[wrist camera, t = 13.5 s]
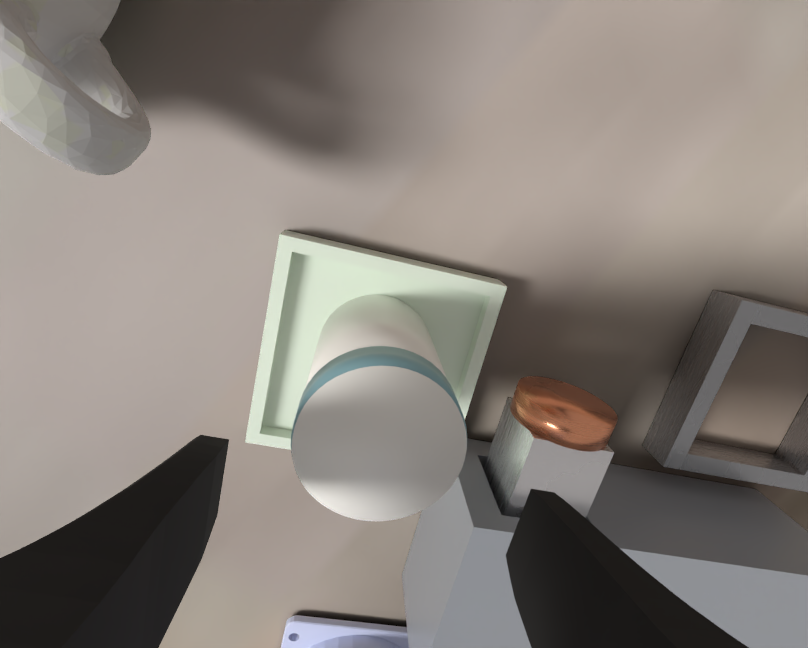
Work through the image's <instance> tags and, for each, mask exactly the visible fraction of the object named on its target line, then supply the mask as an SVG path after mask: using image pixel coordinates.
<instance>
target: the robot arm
mask: <svg viewBox="0 0 808 648" xmlns="http://www.w3.org/2000/svg"><path fill="white" fill-rule="evenodd" d="M228 442H229V440H228V439H222V438H216V437H210V436H204V435H200V436H198V437H196V438H195V439H193V440H192V441H191V442H189V443H188V444H187V445H185V446H184V447H183V448H182V449H180V450H179V451H178V452H176V453H175V454H174V455H172V456H171V457H170V458H168V459H167V460H165V461H164V462H163V463H161V464H160V465H159V466H157V467H156V468H155V469H153V470H152V471H150V472H149V473H147V474H146V475H144V476H143V477H142V478H140V479H139V480H137V481H136V482H134V483H133V484H132V485H130V486H129V487H127V488H126V489H124V490H123V491H121V492H120V493H118V494H116V495H115V496H113V497H112V498H110V499H108V500H107V501H105V502H104V503H102V504H100V505H99V506H97V507H96V508H94V509H92V510H91V511H89V512H88V513H86V514H84V515H83V516H81V517H79V518H78V519H76V520H74V521H72V522H71V523H69V524H67V525H65V526H64V527H62V528H60V529H58V530H56V531H54V532H52V533H51V534H49V535H47V536H45V537H43V538H41V539H39V540H37V541H35V542H33V543H31V544H29V545H27V546H25V547H23V548H21V549H19V550H17V551H15V552H13V553H11V554H8V555H6V556H4V557H2V558H0V648H158V647H159V645H160V643H161V641H162V639H163V637H164V635H165V633H166V631H167V629H168V627H169V625H170V623H171V621H172V619H173V617H174V615H175V613H176V611H177V609H178V607H179V604H180V602H181V600H182V598H183V596H184V594H185V592H186V590H187V588H188V586H189V584H190V582H191V580H192V578H193V576H194V574H195V572H196V569H197V567H198V565H199V563H200V561H201V559H202V556H203V553H204V551H205V548H206V545H207V542H208V540H209V537H210V534H211V531H212V528H213V526H214V523H215V520H216V517H217V513H218V506H219V500H220V494H221V487H222V481H223V474H224V468H225V462H226V455H227V449H228ZM506 560H507V565H508V570H509V575H510V580H511V585H512V589H513V593H514V598H515V601H516V604H517V607H518V610H519V613H520V616H521V619H522V622H523V625H524V628H525V631H526V634H527V637H528V639H529V642H530V645H531V648H749V647H747V646H746V645H744V644H743V643H741V642H740V641H738V640H737V639H735V638H734V637H732V636H731V635H729V634H728V633H727V632H725V631H724V630H722V629H721V628H720V627H718V626H717V625H715V624H714V623H713V622H711V621H710V620H709V619H707V618H706V617H704V616H703V615H702V614H700V613H699V612H697V611H696V610H695V609H693V608H692V607H691V606H689V605H688V604H687V603H685V602H684V601H683V600H681V599H680V598H679V597H678V596H676V595H675V594H674V593H673V592H671V591H670V590H669V589H668V588H666V587H665V586H664V585H663V584H661V583H660V582H659V581H658V580H656V579H655V578H654V577H653V576H652V575H650V574H649V573H648V572H647V571H645V570H644V569H643V568H642V567H641V566H640V565H638V564H637V563H636V562H635V561H634V560H632V559H631V558H630V557H629V556H628V555H627V554H626V553H624V552H623V551H622V550H621V549H620V548H619V547H618V546H616V545H615V544H614V543H613V542H612V541H611V540H610V539H608V538H607V537H606V536H605V535H604V534H603V533H602V532H601V531H599V530H598V529H597V528H596V527H595V526H594V525H593V524H592V523H590V522H589V521H588V520H587V519H586V518H585V517H584V516H582V515H581V514H580V513H579V512H578V511H577V510H576V509H574V508H573V507H572V506H571V505H570V504H568V503H567V502H566V501H565V500H564V499H562V498H561V497H560V496H558V495H557V494H556V493H554V492H549V491H543V490H536V489H531V490H530V493H529V495H528V498H527V500H526V503H525V506H524V508H523V511H522V514H521V516H520V519H519V521H518V524H517V527H516V529H515V532H514V534H513V537H512V540H511V542H510V545H509V548H508V550H507V553H506ZM294 633H296V634H294ZM281 648H409V644H408V633H407V627H402V626H392V625H383V624H374V623H365V622H356V621H346V620H337V619H328V618H319V617H309V616H300V615H295V616H292V617H290V618H289V619H288V620H287V622H286V626H285V631H284V635H283V639H282V644H281Z"/></svg>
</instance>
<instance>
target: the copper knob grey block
mask: <svg viewBox="0 0 808 648" xmlns="http://www.w3.org/2000/svg"><path fill="white" fill-rule="evenodd" d="M617 420H618V418H617V415H616V413H615V412H614V410H613V409H612V408H611V407H610V406H609V405H608V404H606V403H605V402H604V401H602V400H601V399H599V398H598V397H596V396H594V395H592V394H591V393H589V392H587V391H585V390H583V389H580V388H578V387H576V386H573V385H571V384H568V383H565V382H562V381H558V380H555V379H551V378H546V377H538V376H528V377H523V378H521V379H520V380H519V382H518V385H517V387H516V390H515V393H514V396H513V398H512V397H508V398H507V401H506V404H505V406H504V409H503V412H502V415H501V418H500V421H499V424H498V427H497V430H496V433H495V435H494V438H493V441H492V444H491V447H490V450H489V453H488V456H487V459H486V462H485V464H484V467H483V470H484V473H485V475H486V478H487V480H488V483H489V485H490V488H491V490H492V493H493V495H494V498H495V500H496V503H497V505H498V508H499V510H500V513H501V515H504V516H511V517H518V518H520V516H521V514H522V511H523V508H524V506H525V503H526V500H527V498H528V495H529V493H530V490H531V489H536V490H543V491H549V492H554V493H556V494H557V495H558V496H560V497H561V498H562V499H564V500H565V501H566V502H567V503H568V504H570V505H571V506H572V507H573V508H574V509H576V510H577V511H578V512H579V513H580V514H581V515H582V516H584V517H585V518H586V516H587V514H588V512H589V509H590V507H591V505H592V503H593V500H594V498H595V496H596V493H597V491H598V489H599V486H600V484H601V482H602V480H603V477H604V475H605V473H606V470H607V468H608V466H609V464H610V461H611V459H612V457H613V454H614V452H613V450H612V449H611V448H610V447H609V446H608V445H607V444H608V441H609V439H610V437H611V434H612V432H613V430H614V427H615V425H616V423H617Z"/></svg>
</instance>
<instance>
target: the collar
mask: <svg viewBox="0 0 808 648" xmlns="http://www.w3.org/2000/svg"><path fill="white" fill-rule="evenodd" d="M750 324H754V325H758V326H762V327H767V328H771V329H775V330H779V331H783V332H788V333H792V334H796V335H800V336H804V337H808V313H805V312H801V311H797V310H793V309H789V308H785V307H781V306H777V305H772V304H768V303H764V302H760V301H756V300H752V299H748V298H744V297H740V296H736V295H732V294H728V293H724V292H720V291H716V290H713V291H712V293H711V295H710V298H709V300H708V302H707V304H706V306H705V309H704V311H703V313H702V315H701V317H700V320H699V322H698V324H697V326H696V328H695V331H694V333H693V335H692V337H691V339H690V342H689V344H688V346H687V348H686V350H685V353H684V355H683V357H682V359H681V361H680V364H679V366H678V368H677V370H676V372H675V375H674V377H673V379H672V381H671V383H670V386H669V388H668V390H667V392H666V394H665V397H664V399H663V401H662V403H661V405H660V408H659V410H658V412H657V414H656V416H655V419H654V421H653V423H652V425H651V427H650V430H649V432H648V434H647V436H646V438H645V441H644V443H643V445H642V446H643V447H644V448H645V449H646V450H647V451H648V452H649V453H650V454H651V455H652V456H653V457H654V458H655V459H656V460H657V461H658V462H659V463H660V464H661V465H662V466H663V467H668V468H674V469H680V470H685V471H691V472H697V473H702V474H708V475H714V476H719V477H725V478H730V479H736V480H742V481H747V482H753V483H759V484H764V485H770V486H775V487H781V488H787V489H792V490H798V491H804V492H808V396H807V398H806V399H805V401H804V403H803V405H802V407H801V409H800V410H799V412H798V414H797V416H796V418H795V419H794V421H793V423H792V425H791V427H790V428H789V430H788V432H787V434H786V436H785V437H784V439H783V441H782V443H781V445H780V446H779V448H778V450H777V452H776V454H775V455H774V454H769V453H764V452H758V451H753V450H748V449H742V448H737V447H732V446H727V445H721V444H716V443H711V442H706V441H700V440H695V437H696V435H697V433H698V431H699V429H700V426H701V424H702V422H703V420H704V418H705V416H706V414H707V412H708V410H709V408H710V406H711V404H712V402H713V400H714V398H715V396H716V394H717V392H718V390H719V388H720V386H721V384H722V382H723V380H724V378H725V375H726V373H727V371H728V369H729V367H730V365H731V363H732V361H733V359H734V357H735V355H736V353H737V351H738V349H739V347H740V345H741V343H742V341H743V339H744V337H745V335H746V333H747V331H748V329H749V326H750Z"/></svg>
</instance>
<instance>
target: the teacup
mask: <svg viewBox="0 0 808 648" xmlns="http://www.w3.org/2000/svg"><path fill="white" fill-rule="evenodd" d="M120 1H121V0H0V121H1V122H3V123H4V124H5V125H6V126H7V127H8V128H10V129H11V130H12V131H13V132H15V133H16V134H18V135H19V136H20V137H22V138H23V139H24V140H26V141H27V142H29V143H30V144H31V145H33V146H34V147H36V148H37V149H38V150H40V151H41V152H43V153H45V154H46V155H48V156H50V157H52V158H54V159H56V160H58V161H60V162H62V163H64V164H66V165H68V166H70V167H72V168H74V169H76V170H80V171H84V172H88V173H92V174H96V175H110V174H115V173H118V172H120V171H122V170H124V169H126V168H127V167H129V166H130V165H131V164H132V163H133V162H134V161H135V160H136V159H137V158H138V157H139V156H140V154H141V153H142V152H143V151H144V150H145V149H146V147H147V145H148V143H149V141H150V137H151V128H150V124H149V121H148V118H147V116H146V114H145V112H144V110H143V108H142V107H141V105H140V103H139V102H138V100H137V98H136V97H135V95H134V94H133V92H132V91H131V89H130V88H129V86H128V85H127V84H126V82H125V81H124V79H123V78H122V76H121V75H120V74H119V72H118V71H117V69H116V68H115V67H114V65H113V64H112V62H111V58H110V55H109V53H108V51H107V50H106V48H105V47H104V46H103V44H102V43H101V41H100V38H101V37H102V36H103V34H104V33H105V31H106V30H107V28H108V26H109V24H110V23H111V21H112V19H113V17H114V15H115V13H116V11H117V9H118V6H119V3H120Z"/></svg>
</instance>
